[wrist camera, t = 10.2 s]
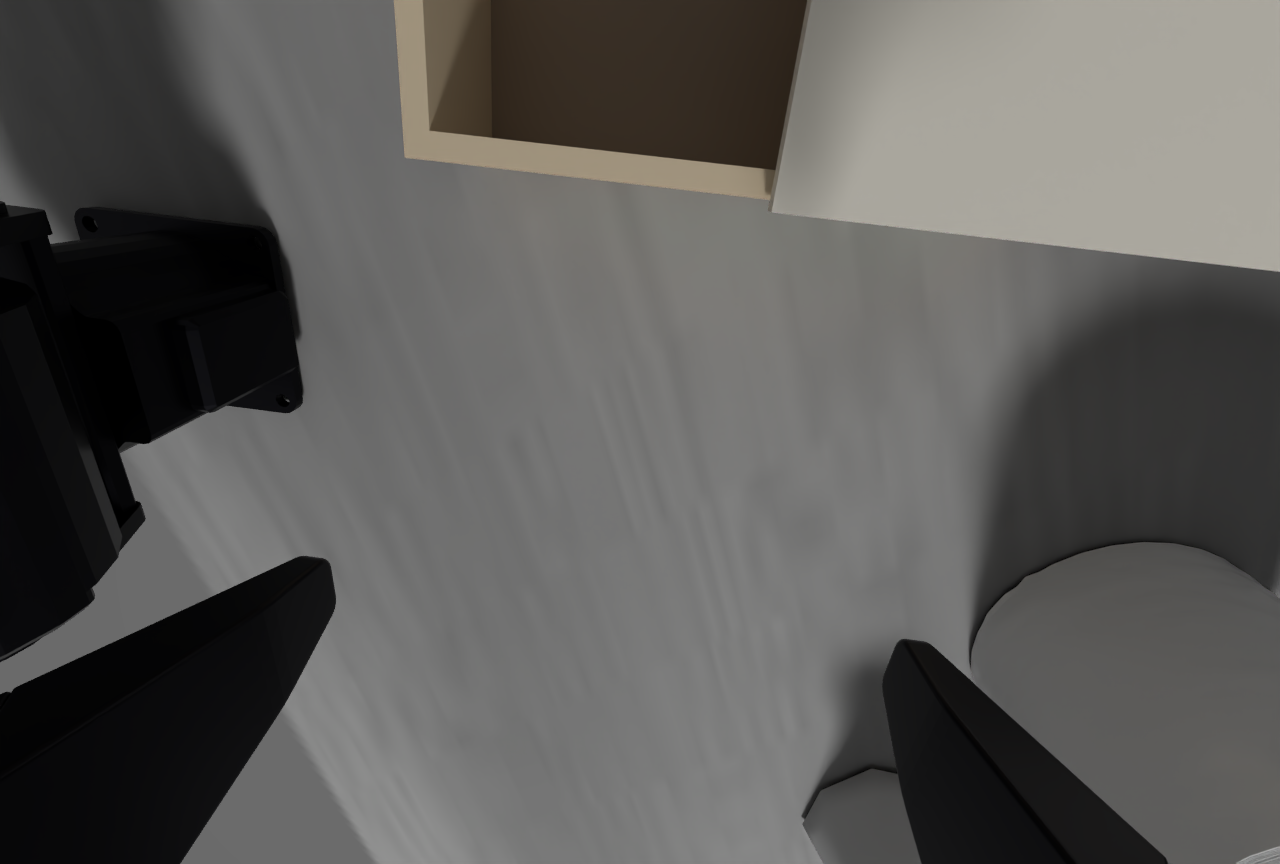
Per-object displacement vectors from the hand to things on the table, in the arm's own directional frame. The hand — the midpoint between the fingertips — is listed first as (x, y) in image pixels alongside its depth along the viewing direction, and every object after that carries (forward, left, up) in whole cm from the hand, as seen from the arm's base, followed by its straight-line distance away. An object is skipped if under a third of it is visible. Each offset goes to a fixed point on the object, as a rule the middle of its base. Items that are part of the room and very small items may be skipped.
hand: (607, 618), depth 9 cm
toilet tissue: (+20, -10, -12) cm, 26 cm away
